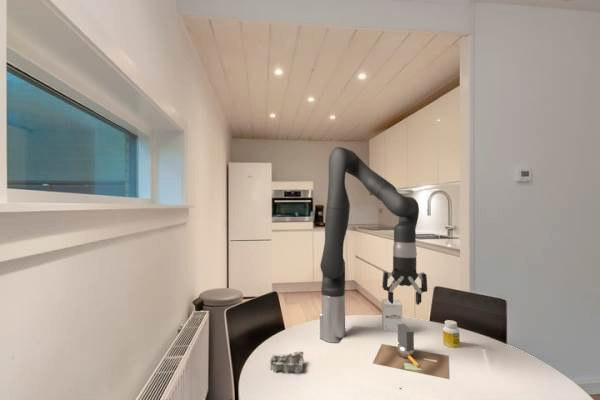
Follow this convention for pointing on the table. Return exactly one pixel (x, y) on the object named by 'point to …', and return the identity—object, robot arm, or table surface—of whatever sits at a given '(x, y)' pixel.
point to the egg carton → (284, 359)
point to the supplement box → (391, 315)
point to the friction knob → (406, 343)
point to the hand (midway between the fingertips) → (404, 303)
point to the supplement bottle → (451, 334)
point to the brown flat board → (426, 360)
